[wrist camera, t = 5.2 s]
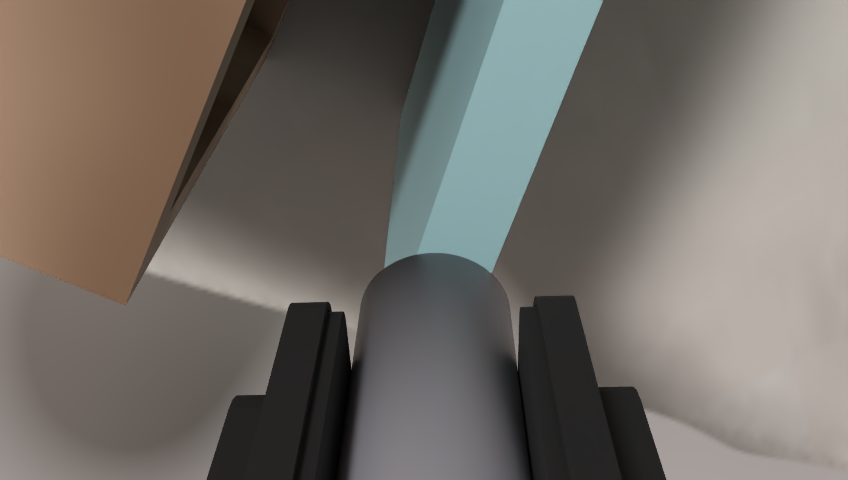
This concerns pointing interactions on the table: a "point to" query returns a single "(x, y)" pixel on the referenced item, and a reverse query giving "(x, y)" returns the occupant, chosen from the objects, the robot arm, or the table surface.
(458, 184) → the door
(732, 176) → the table surface
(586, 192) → the table surface
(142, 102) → the cabinet
